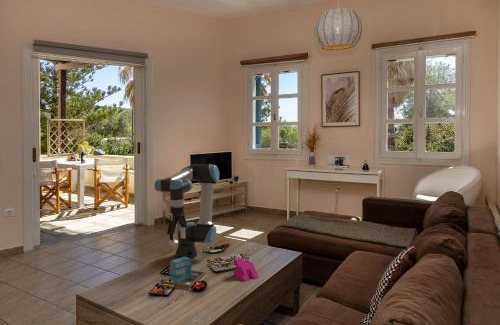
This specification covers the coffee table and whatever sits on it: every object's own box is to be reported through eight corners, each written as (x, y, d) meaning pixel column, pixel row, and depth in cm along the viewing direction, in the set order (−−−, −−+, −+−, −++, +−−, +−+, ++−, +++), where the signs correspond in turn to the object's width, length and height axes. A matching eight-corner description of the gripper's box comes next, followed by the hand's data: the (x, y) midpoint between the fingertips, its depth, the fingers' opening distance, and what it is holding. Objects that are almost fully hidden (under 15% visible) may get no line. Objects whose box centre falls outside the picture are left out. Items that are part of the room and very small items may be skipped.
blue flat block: (174, 283, 212) (174, 262, 210) (169, 281, 215) (169, 261, 214) (191, 277, 220) (191, 257, 219) (186, 275, 223) (186, 255, 222)
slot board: (180, 272, 235) (180, 268, 235) (206, 276, 230) (206, 271, 230) (161, 286, 214) (161, 281, 214) (190, 290, 209) (190, 286, 209)
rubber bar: (181, 274, 231) (181, 271, 230) (199, 276, 227) (199, 273, 227) (178, 276, 227) (178, 273, 227) (196, 279, 223) (196, 276, 223)
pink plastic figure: (233, 275, 233) (233, 258, 232) (247, 271, 238) (247, 255, 237) (244, 281, 223) (244, 264, 222) (258, 277, 228) (258, 261, 228)
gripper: (180, 201, 233) (181, 234, 235) (160, 210, 209) (161, 248, 211) (192, 201, 231) (192, 235, 233) (172, 211, 207) (173, 249, 209)
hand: (177, 241), depth 222 cm, fingers open, 13 cm apart
